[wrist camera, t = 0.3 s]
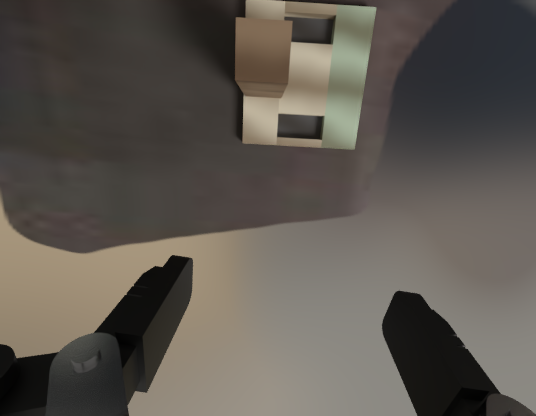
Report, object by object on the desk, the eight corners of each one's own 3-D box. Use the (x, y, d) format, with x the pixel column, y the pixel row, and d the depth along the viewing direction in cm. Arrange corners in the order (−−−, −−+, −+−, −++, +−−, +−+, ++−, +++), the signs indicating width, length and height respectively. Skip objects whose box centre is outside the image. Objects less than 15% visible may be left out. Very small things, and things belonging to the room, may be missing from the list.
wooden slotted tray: (247, 4, 30) (245, -2, 29) (371, 13, 30) (376, 7, 29) (243, 142, 35) (242, 143, 33) (350, 148, 35) (354, 149, 34)
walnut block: (246, 55, 30) (235, 17, 20) (283, 58, 30) (292, 20, 20) (245, 96, 32) (235, 80, 21) (281, 98, 32) (288, 83, 21)
